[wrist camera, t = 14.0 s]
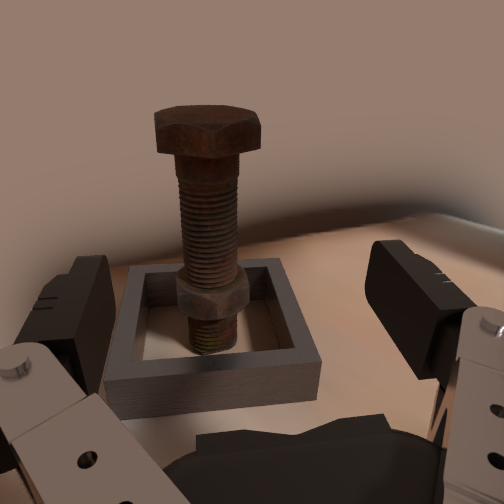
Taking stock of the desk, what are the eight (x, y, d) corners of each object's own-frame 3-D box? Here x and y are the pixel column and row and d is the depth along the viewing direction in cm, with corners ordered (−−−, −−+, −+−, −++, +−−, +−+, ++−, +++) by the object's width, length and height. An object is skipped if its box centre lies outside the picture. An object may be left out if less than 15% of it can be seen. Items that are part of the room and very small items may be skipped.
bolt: (173, 320, 29) (153, 103, 22) (241, 312, 30) (243, 102, 23) (178, 380, 24) (154, 126, 17) (259, 368, 25) (269, 123, 18)
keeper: (277, 289, 33) (279, 257, 32) (316, 400, 23) (321, 361, 22) (134, 298, 32) (129, 265, 30) (112, 420, 22) (103, 380, 20)
